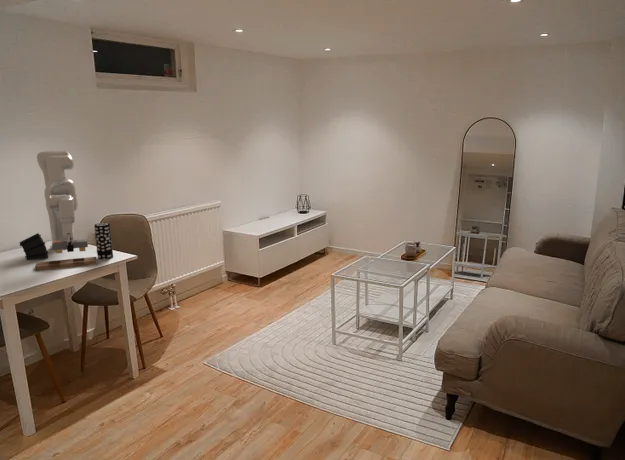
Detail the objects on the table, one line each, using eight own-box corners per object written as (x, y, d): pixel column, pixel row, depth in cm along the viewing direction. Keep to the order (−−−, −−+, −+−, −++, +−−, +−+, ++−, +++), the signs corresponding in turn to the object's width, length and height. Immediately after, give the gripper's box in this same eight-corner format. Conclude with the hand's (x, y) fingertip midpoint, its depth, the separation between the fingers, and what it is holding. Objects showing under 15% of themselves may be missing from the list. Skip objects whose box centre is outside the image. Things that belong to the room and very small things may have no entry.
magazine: (52, 256, 279) (37, 234, 274) (31, 266, 278) (15, 244, 273) (54, 254, 283) (39, 232, 278) (33, 264, 281) (17, 243, 276)
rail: (37, 266, 265) (36, 262, 264) (96, 260, 276) (96, 256, 276) (35, 270, 258) (34, 266, 257) (96, 264, 269) (96, 260, 268)
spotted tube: (96, 259, 278) (92, 226, 273) (99, 255, 286) (96, 223, 281) (111, 259, 279) (108, 225, 275) (114, 255, 287) (111, 222, 283)
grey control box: (53, 251, 276) (52, 240, 274) (88, 248, 283) (87, 238, 281) (53, 254, 272) (51, 242, 270) (88, 251, 279) (87, 240, 277)
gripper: (61, 216, 278) (64, 246, 283) (59, 223, 263) (62, 255, 268) (75, 215, 281) (78, 245, 286) (74, 222, 266) (77, 254, 271)
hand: (70, 249), depth 277 cm, fingers closed on grey control box, 4 cm apart
